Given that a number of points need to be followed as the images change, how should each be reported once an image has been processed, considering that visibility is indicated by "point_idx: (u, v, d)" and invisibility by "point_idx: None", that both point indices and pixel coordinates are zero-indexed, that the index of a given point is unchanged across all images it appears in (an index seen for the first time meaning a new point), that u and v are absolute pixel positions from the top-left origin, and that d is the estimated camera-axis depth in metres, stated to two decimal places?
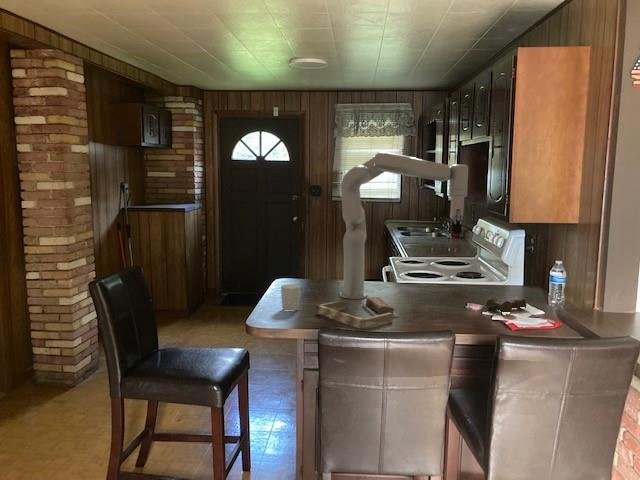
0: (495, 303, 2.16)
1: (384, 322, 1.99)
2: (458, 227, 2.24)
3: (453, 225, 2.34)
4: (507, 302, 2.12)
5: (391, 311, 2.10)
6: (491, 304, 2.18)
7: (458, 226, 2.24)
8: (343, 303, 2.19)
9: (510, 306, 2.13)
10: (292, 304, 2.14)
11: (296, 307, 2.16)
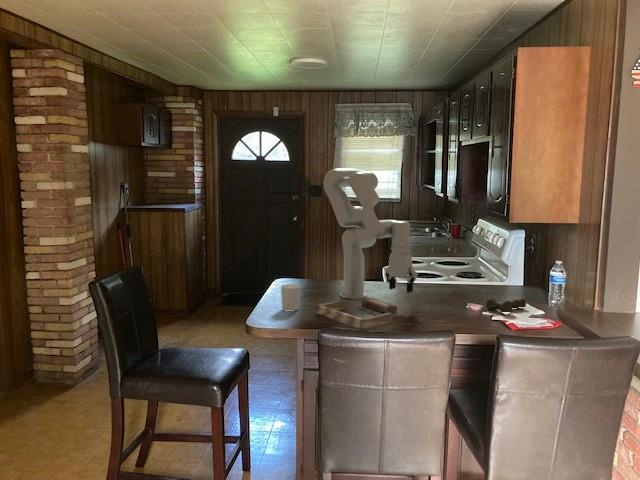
0: (496, 303, 2.17)
1: (384, 322, 1.99)
2: (412, 286, 2.17)
3: (391, 283, 2.25)
4: (508, 302, 2.12)
5: (395, 310, 2.12)
6: (491, 304, 2.18)
7: (412, 285, 2.17)
8: (343, 303, 2.19)
9: (510, 306, 2.13)
10: (292, 304, 2.14)
11: (296, 307, 2.16)
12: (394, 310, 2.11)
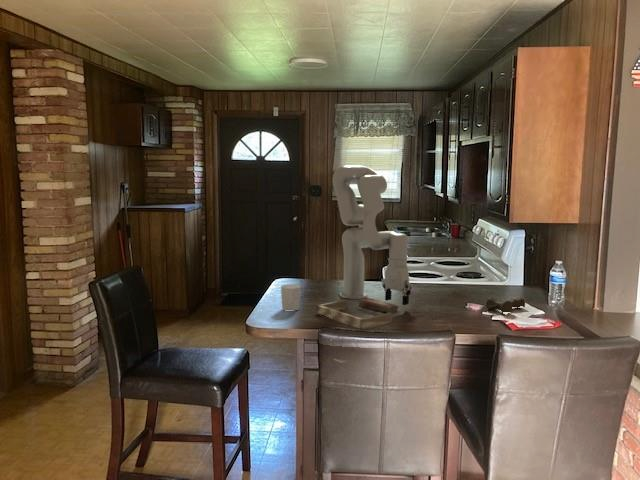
0: (495, 303, 2.17)
1: (384, 322, 1.99)
2: (407, 298, 2.18)
3: (387, 295, 2.25)
4: (508, 302, 2.13)
5: (396, 309, 2.13)
6: (491, 304, 2.18)
7: (407, 297, 2.18)
8: (343, 303, 2.19)
9: (510, 306, 2.13)
10: (292, 304, 2.14)
11: (296, 307, 2.16)
12: (395, 309, 2.12)
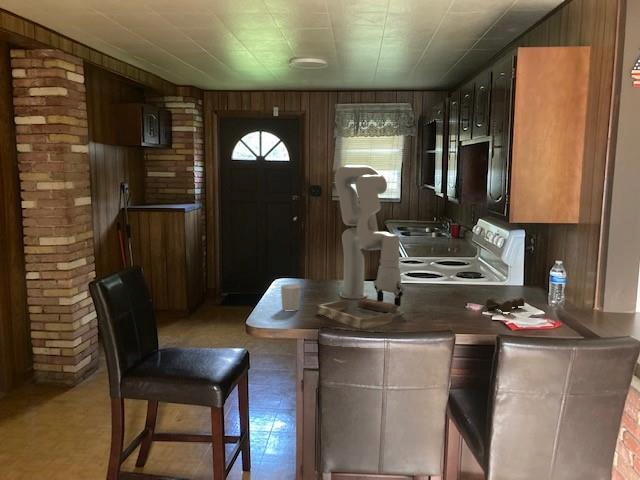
0: (495, 303, 2.17)
1: (384, 322, 1.99)
2: (399, 300, 2.15)
3: (379, 296, 2.22)
4: (508, 302, 2.13)
5: (396, 309, 2.13)
6: (491, 304, 2.18)
7: (399, 299, 2.15)
8: (343, 303, 2.19)
9: (510, 305, 2.14)
10: (292, 304, 2.14)
11: (296, 307, 2.16)
12: (395, 309, 2.12)
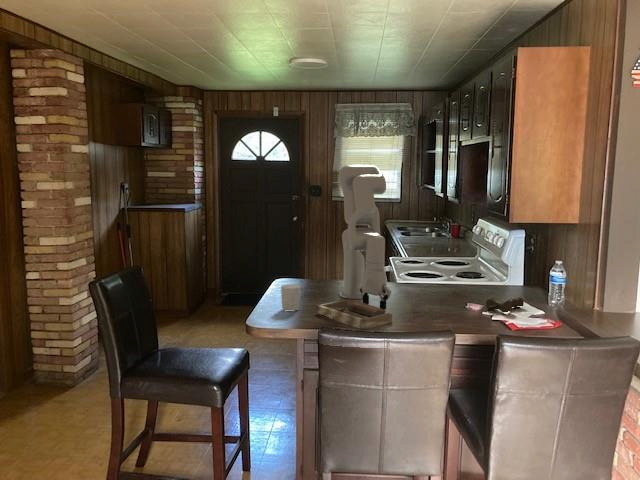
0: (495, 303, 2.17)
1: (384, 322, 1.99)
2: (385, 303, 2.09)
3: (364, 299, 2.16)
4: (508, 301, 2.13)
5: None
6: (491, 304, 2.18)
7: (385, 302, 2.09)
8: (343, 303, 2.19)
9: (510, 305, 2.14)
10: (292, 304, 2.14)
11: (296, 307, 2.16)
12: None
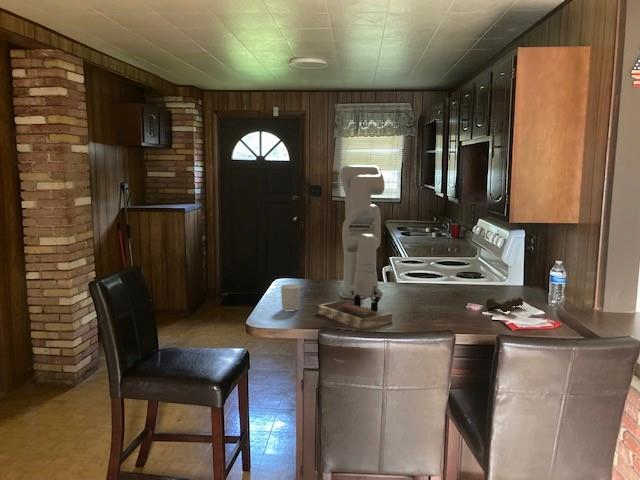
0: (496, 303, 2.17)
1: (384, 322, 1.99)
2: (376, 305, 2.06)
3: (356, 301, 2.13)
4: (508, 301, 2.13)
5: None
6: (491, 304, 2.18)
7: (376, 304, 2.06)
8: (343, 303, 2.19)
9: (511, 305, 2.14)
10: (292, 304, 2.14)
11: (296, 307, 2.16)
12: None
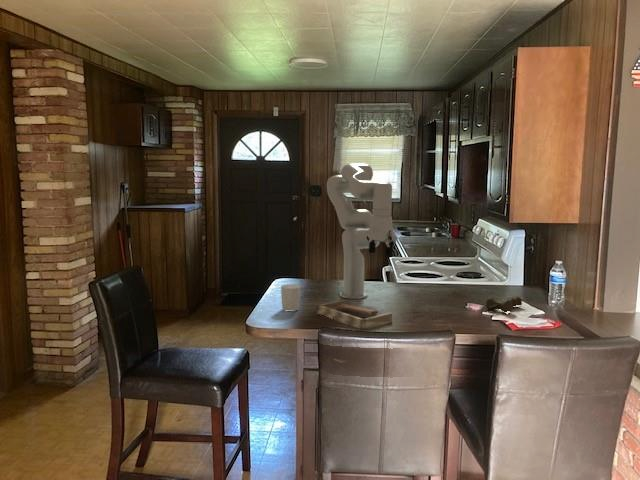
0: (496, 303, 2.17)
1: (384, 322, 1.99)
2: (391, 250, 2.10)
3: (371, 247, 2.17)
4: (509, 301, 2.14)
5: (376, 315, 2.04)
6: (491, 304, 2.18)
7: (391, 249, 2.10)
8: (343, 303, 2.19)
9: (511, 305, 2.15)
10: (292, 304, 2.14)
11: (296, 307, 2.16)
12: (375, 315, 2.04)
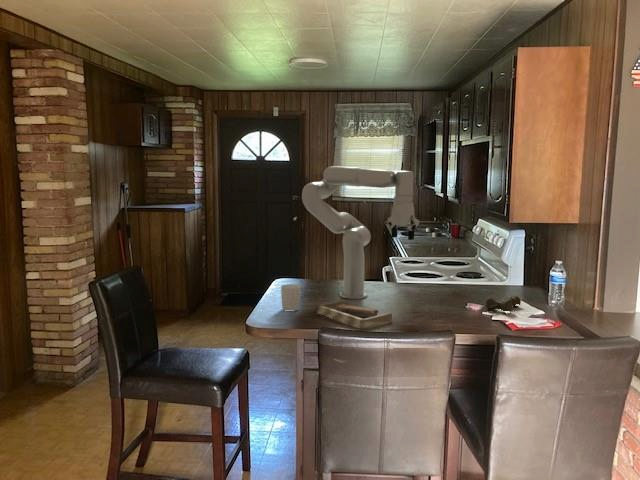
0: (496, 302, 2.18)
1: (384, 322, 1.99)
2: (413, 233, 2.25)
3: (393, 232, 2.32)
4: (509, 301, 2.14)
5: (376, 314, 2.06)
6: (491, 304, 2.18)
7: (413, 232, 2.25)
8: (343, 303, 2.19)
9: (511, 304, 2.15)
10: (292, 304, 2.14)
11: (296, 307, 2.16)
12: (376, 314, 2.05)
